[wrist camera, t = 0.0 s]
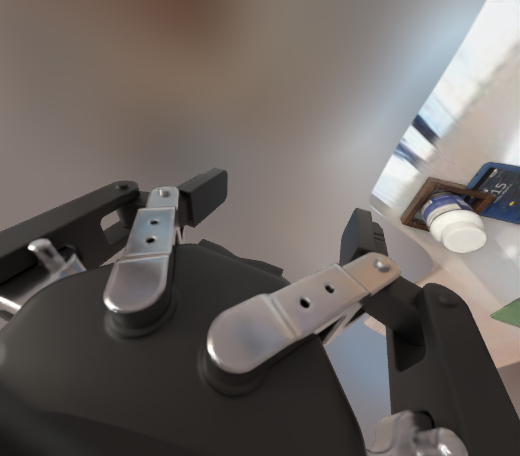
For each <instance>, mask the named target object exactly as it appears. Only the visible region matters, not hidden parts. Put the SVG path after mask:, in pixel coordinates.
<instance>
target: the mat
mask: <svg viewBox="0 0 520 456" xmlns="http://www.w3.org/2000/svg"><path fill="white" fill-rule="evenodd" d="M491 317H492V318H494V319H497V320H500V321H503V322H506V323H509V324H512V325H515V326H517V327H520V298H519V299H517V300H516V301H514V302H512V303H511V304H509V305H507V306H506V307H504V308H502V309H501V310H499V311H497V312H496V313H494V314H492V315H491Z"/></svg>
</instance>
